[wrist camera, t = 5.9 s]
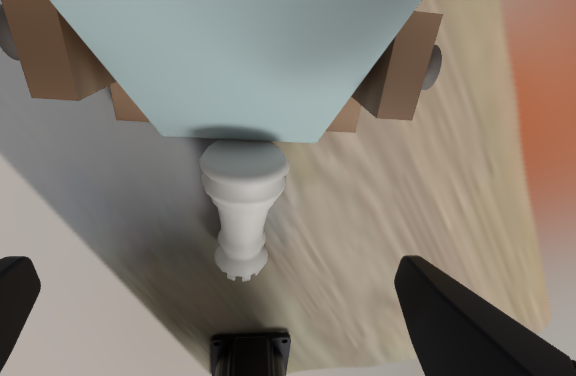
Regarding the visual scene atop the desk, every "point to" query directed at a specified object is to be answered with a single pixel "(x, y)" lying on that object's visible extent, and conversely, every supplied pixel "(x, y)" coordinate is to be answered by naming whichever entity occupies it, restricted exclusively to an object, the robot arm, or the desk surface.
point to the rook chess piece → (243, 199)
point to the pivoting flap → (238, 60)
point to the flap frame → (94, 76)
